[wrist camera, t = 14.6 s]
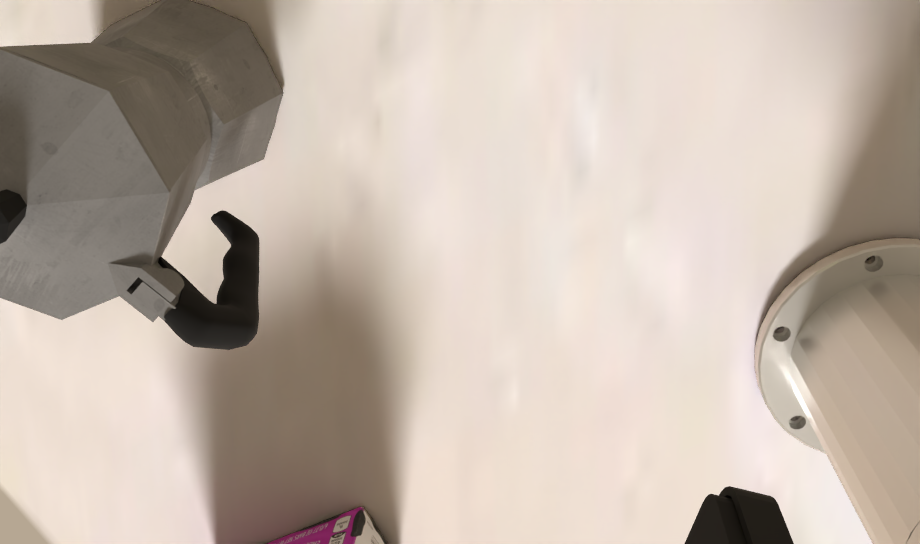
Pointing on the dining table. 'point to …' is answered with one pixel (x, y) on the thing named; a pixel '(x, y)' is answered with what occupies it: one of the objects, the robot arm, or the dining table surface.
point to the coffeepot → (132, 166)
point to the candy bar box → (338, 531)
